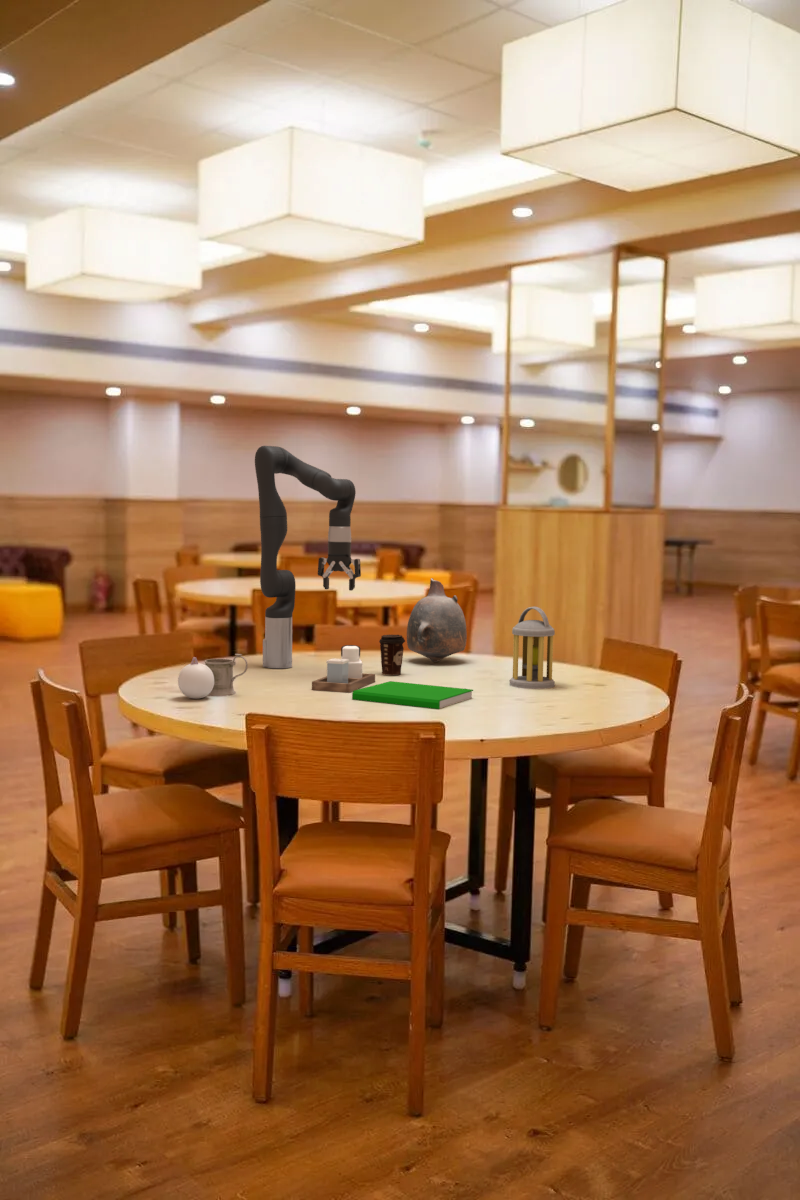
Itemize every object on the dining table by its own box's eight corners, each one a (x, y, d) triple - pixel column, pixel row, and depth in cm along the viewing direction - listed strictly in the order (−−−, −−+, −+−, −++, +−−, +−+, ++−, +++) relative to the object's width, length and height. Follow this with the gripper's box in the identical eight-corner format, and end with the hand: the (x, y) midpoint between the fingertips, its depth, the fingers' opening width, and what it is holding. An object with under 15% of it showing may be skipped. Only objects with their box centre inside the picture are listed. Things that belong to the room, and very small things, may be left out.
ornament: (184, 702, 338) (184, 660, 337) (173, 696, 347) (173, 655, 346) (218, 700, 343) (219, 658, 342) (207, 694, 352) (207, 654, 351)
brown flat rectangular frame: (311, 689, 363) (311, 681, 363) (338, 679, 384) (338, 671, 384) (350, 692, 359) (350, 684, 359) (375, 681, 380) (375, 674, 380)
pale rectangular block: (326, 689, 365) (326, 660, 364) (332, 686, 370) (332, 658, 369) (342, 690, 363) (342, 661, 362) (348, 687, 368) (349, 659, 368)
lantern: (500, 684, 379) (502, 606, 376) (527, 680, 389) (529, 603, 387) (536, 690, 369) (538, 609, 367) (563, 685, 379) (565, 607, 377)
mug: (195, 694, 352) (196, 653, 351) (213, 689, 361) (213, 649, 360) (238, 698, 347) (239, 657, 346) (255, 693, 356) (255, 653, 355)
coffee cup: (405, 673, 400) (406, 634, 399) (403, 676, 392) (404, 637, 391) (380, 672, 401) (380, 633, 400) (377, 675, 393) (377, 636, 392)
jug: (467, 667, 416) (469, 581, 413) (406, 666, 416) (407, 580, 414) (464, 657, 440) (466, 576, 438) (406, 656, 441) (407, 575, 438)
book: (390, 690, 367) (390, 681, 366) (473, 699, 353) (473, 689, 353) (352, 701, 347) (352, 691, 347) (438, 711, 334) (438, 700, 333)
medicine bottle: (338, 681, 380) (339, 644, 379) (361, 681, 381) (361, 644, 379) (339, 685, 373) (339, 647, 372) (362, 685, 373) (362, 647, 372)
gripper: (315, 540, 389) (314, 589, 390) (356, 541, 384) (355, 591, 386) (323, 539, 396) (323, 588, 397) (364, 540, 392) (363, 589, 393)
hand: (339, 589), depth 392 cm, fingers open, 8 cm apart
